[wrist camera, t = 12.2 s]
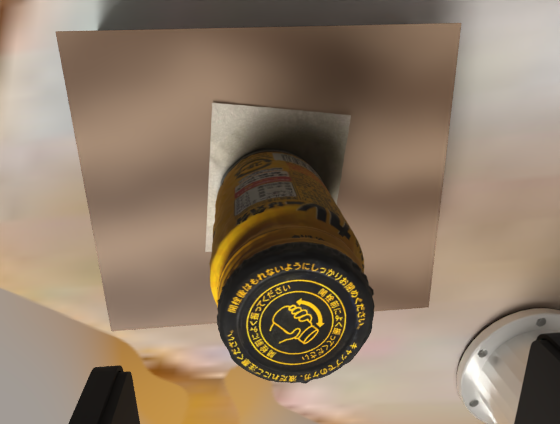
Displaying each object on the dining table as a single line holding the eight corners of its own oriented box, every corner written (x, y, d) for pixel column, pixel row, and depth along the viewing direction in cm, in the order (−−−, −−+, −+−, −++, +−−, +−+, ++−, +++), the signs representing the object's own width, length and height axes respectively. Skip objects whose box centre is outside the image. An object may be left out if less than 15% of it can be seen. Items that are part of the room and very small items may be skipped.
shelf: (392, 256, 36) (428, 307, 30) (134, 273, 35) (111, 331, 28) (410, 25, 30) (461, 23, 23) (96, 32, 28) (55, 31, 22)
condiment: (205, 250, 27) (186, 406, 15) (212, 102, 24) (195, 163, 12) (328, 256, 27) (394, 407, 16) (349, 114, 24) (448, 181, 13)
